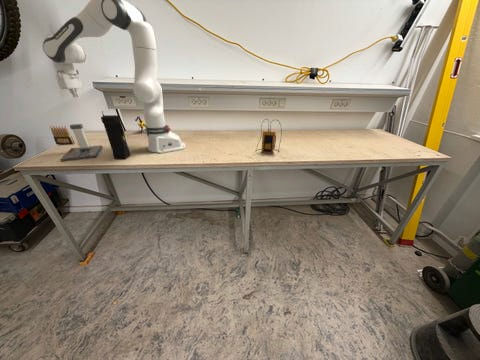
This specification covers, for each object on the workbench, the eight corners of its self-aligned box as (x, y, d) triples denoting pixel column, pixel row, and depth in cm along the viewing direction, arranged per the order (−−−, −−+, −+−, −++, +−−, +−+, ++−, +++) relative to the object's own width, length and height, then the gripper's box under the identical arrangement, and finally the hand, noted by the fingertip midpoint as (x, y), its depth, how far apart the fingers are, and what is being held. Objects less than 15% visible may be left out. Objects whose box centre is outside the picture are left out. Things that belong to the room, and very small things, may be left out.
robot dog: (135, 135, 147) (130, 117, 140) (147, 129, 162) (143, 113, 156) (142, 136, 146) (138, 117, 140) (153, 130, 162) (150, 113, 156)
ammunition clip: (74, 143, 130) (67, 125, 124) (72, 144, 128) (65, 126, 123) (58, 143, 130) (50, 125, 124) (56, 144, 128) (47, 126, 122)
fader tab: (90, 146, 120) (82, 123, 113) (89, 148, 116) (80, 125, 110) (81, 147, 118) (71, 124, 111) (79, 149, 115) (69, 125, 108)
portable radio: (133, 155, 113) (120, 110, 101) (128, 159, 108) (114, 112, 96) (119, 155, 113) (105, 110, 101) (113, 159, 108) (98, 112, 96)
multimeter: (279, 148, 126) (283, 116, 117) (279, 154, 118) (283, 120, 108) (257, 146, 129) (259, 115, 119) (255, 152, 120) (256, 118, 111)
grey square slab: (102, 147, 124) (102, 145, 123) (96, 157, 109) (95, 155, 109) (72, 150, 119) (71, 148, 118) (61, 161, 104) (60, 159, 103)
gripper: (62, 69, 103) (74, 97, 109) (79, 71, 120) (88, 96, 127) (48, 69, 101) (61, 98, 107) (68, 72, 119) (77, 96, 125)
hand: (76, 97), depth 117 cm, fingers closed
